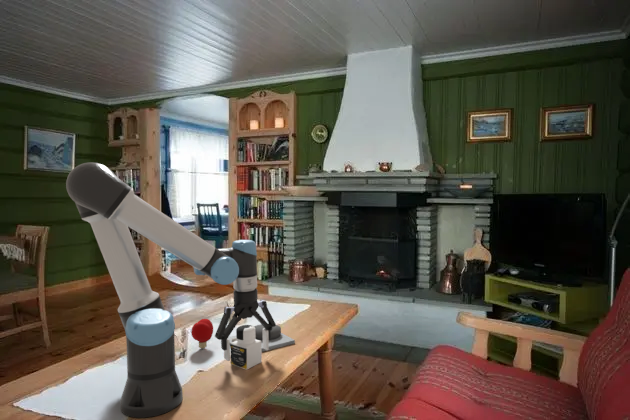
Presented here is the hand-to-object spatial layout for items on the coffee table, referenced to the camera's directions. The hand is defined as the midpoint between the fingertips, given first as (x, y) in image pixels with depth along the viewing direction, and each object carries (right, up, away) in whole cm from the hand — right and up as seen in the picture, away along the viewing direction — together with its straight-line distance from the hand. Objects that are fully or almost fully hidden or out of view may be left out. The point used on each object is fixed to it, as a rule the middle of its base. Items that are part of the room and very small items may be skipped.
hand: (247, 354), depth 134 cm
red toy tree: (-18, -3, +12) cm, 22 cm away
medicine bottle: (0, -3, 0) cm, 3 cm away
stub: (+4, -1, +22) cm, 23 cm away
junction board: (+1, -2, +18) cm, 19 cm away
